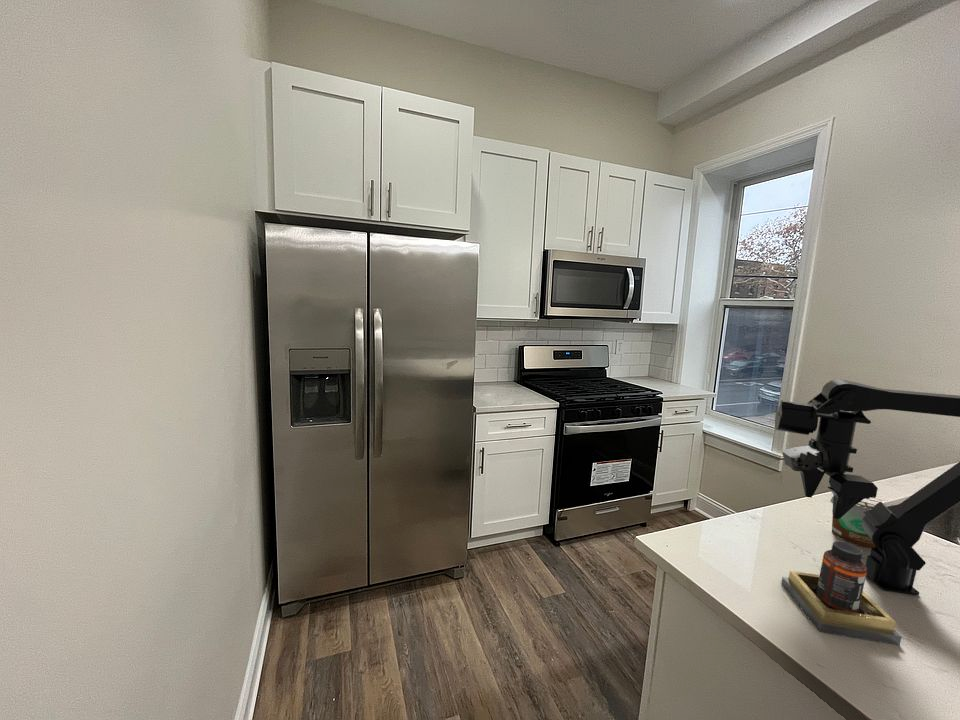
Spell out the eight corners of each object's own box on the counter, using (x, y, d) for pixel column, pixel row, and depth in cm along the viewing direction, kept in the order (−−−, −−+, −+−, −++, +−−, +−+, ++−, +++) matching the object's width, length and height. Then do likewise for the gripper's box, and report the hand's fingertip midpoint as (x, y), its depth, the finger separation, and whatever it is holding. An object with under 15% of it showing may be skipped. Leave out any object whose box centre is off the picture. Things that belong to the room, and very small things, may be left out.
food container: (835, 543, 96) (842, 505, 94) (824, 530, 101) (831, 493, 100) (902, 557, 91) (911, 517, 90) (887, 542, 97) (895, 505, 95)
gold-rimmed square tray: (848, 593, 79) (851, 577, 78) (899, 645, 67) (904, 626, 66) (781, 583, 81) (784, 567, 80) (819, 631, 69) (823, 613, 68)
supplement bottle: (867, 618, 70) (879, 560, 68) (828, 611, 71) (840, 554, 69) (844, 594, 76) (855, 540, 74) (808, 588, 77) (818, 535, 75)
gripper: (769, 422, 94) (759, 483, 97) (819, 451, 76) (806, 525, 79) (821, 426, 93) (810, 489, 95) (886, 457, 74) (870, 533, 77)
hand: (821, 507), depth 86 cm, fingers open, 9 cm apart
